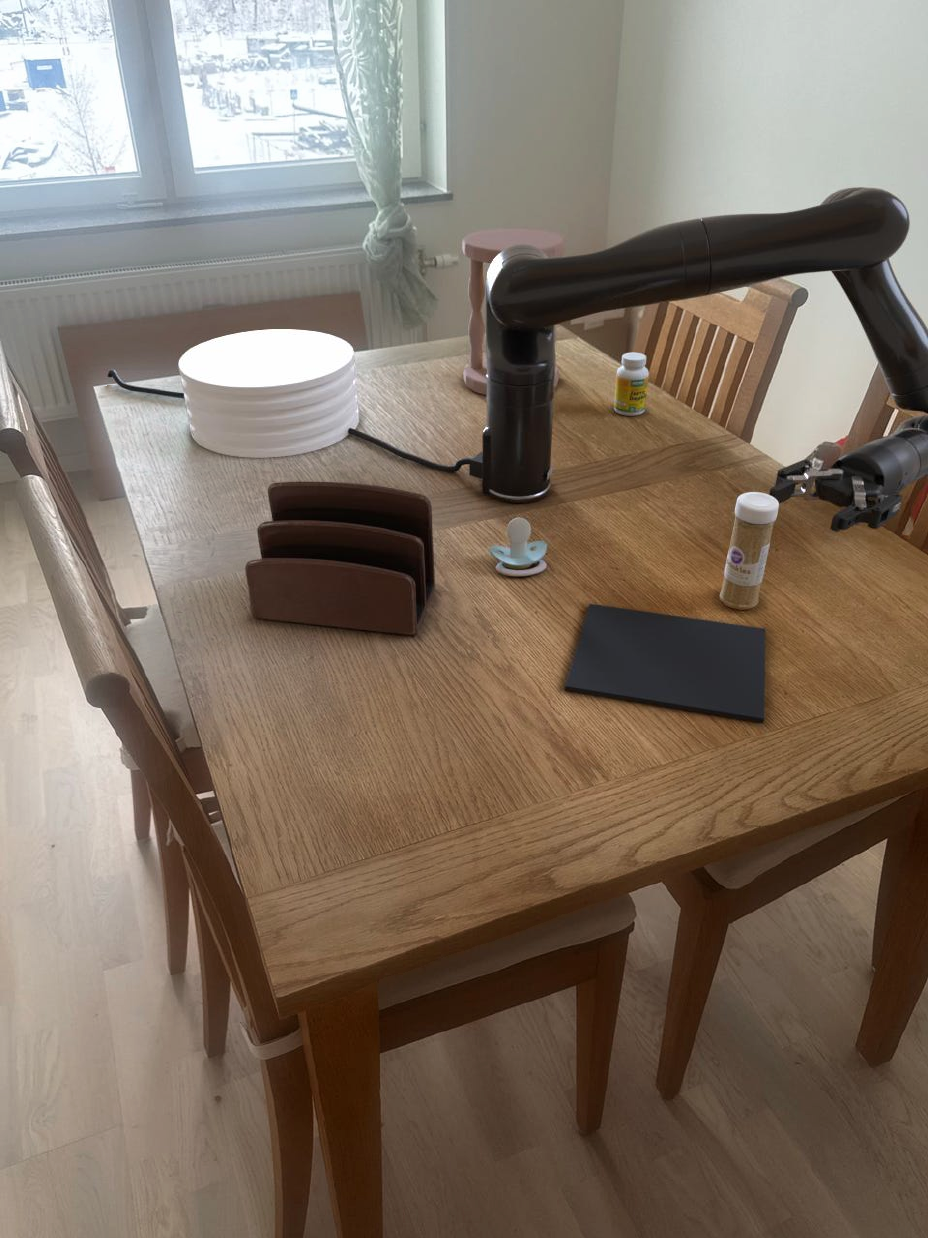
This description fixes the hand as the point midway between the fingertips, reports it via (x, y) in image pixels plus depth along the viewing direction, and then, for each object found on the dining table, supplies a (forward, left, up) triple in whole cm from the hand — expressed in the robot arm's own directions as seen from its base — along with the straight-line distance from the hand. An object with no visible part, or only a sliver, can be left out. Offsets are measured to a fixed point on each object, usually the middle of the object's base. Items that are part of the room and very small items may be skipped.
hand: (802, 510), depth 110 cm
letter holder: (-51, -21, -9) cm, 56 cm away
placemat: (-13, -22, -9) cm, 27 cm away
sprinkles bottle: (-6, -8, -9) cm, 13 cm away
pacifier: (-33, -7, -9) cm, 35 cm away
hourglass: (-49, +57, -9) cm, 75 cm away
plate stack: (-83, +28, -9) cm, 88 cm away
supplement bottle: (-26, +48, -9) cm, 55 cm away
